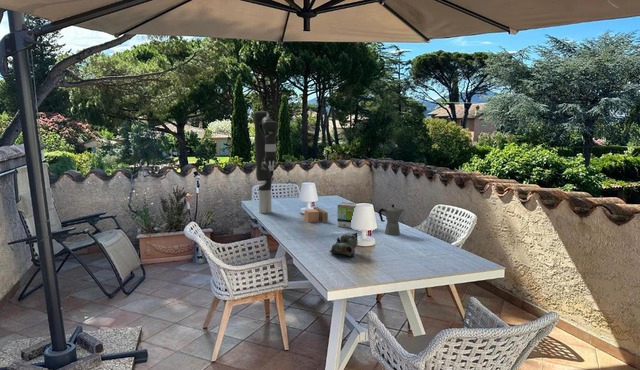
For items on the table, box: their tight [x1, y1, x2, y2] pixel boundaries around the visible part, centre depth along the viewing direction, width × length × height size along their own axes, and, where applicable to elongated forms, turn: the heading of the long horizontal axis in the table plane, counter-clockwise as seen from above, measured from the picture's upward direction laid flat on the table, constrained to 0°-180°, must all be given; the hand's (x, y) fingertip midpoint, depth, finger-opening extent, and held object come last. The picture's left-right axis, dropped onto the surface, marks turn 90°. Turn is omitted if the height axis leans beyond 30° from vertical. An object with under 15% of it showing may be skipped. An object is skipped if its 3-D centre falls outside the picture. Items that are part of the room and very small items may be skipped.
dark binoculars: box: [329, 232, 358, 258], centre depth 220 cm, size 15×12×14 cm
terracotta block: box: [303, 208, 320, 223], centre depth 296 cm, size 8×8×7 cm
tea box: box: [336, 201, 359, 229], centre depth 279 cm, size 15×10×15 cm
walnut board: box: [313, 206, 329, 224], centre depth 298 cm, size 20×3×7 cm, turn 20°
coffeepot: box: [377, 204, 404, 236], centre depth 260 cm, size 15×9×18 cm, turn 92°
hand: (271, 176), depth 292 cm, fingers closed
